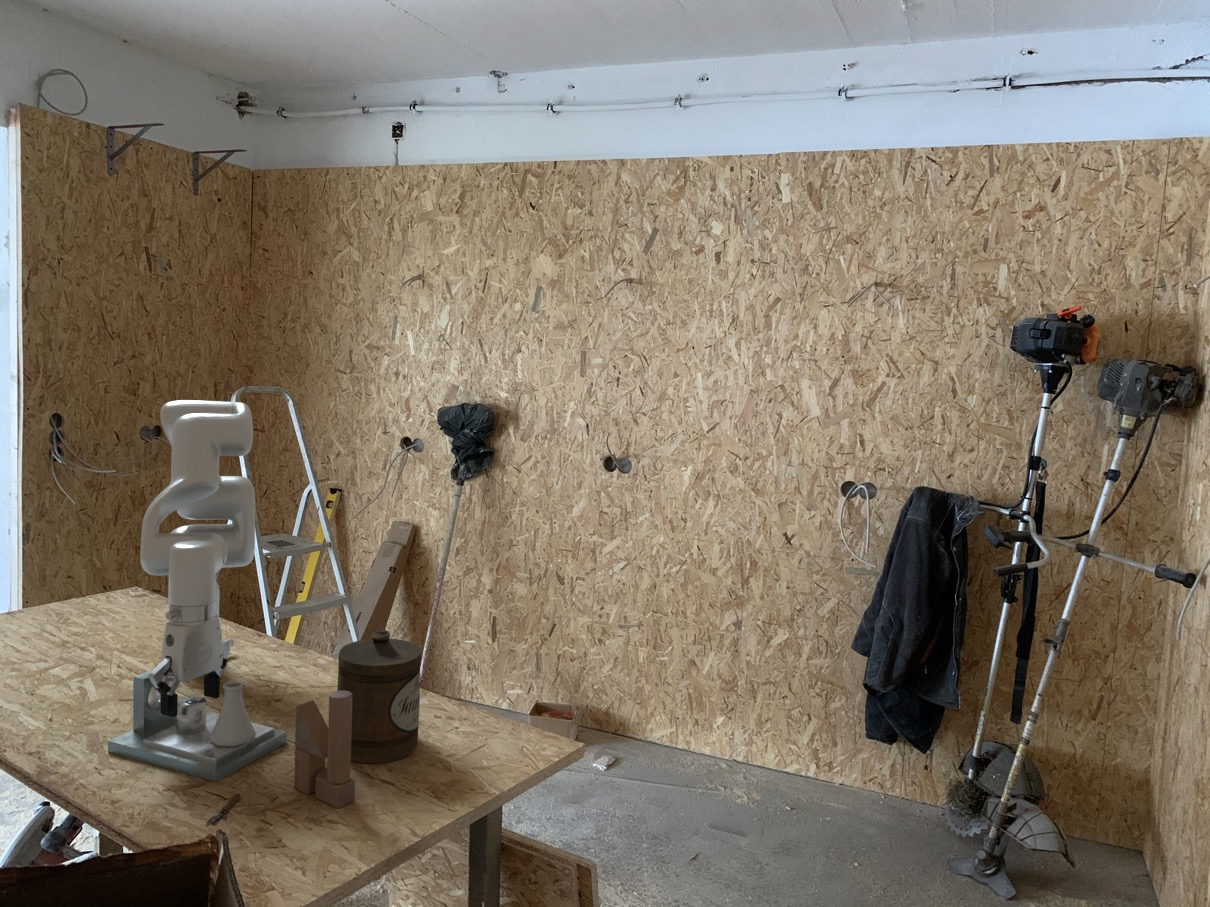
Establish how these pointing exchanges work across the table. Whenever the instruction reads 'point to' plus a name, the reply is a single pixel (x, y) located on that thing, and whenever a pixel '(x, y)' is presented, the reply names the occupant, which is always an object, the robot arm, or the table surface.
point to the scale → (185, 739)
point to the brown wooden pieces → (325, 750)
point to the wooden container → (382, 696)
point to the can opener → (224, 809)
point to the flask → (232, 719)
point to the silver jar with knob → (191, 715)
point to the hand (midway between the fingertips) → (190, 705)
